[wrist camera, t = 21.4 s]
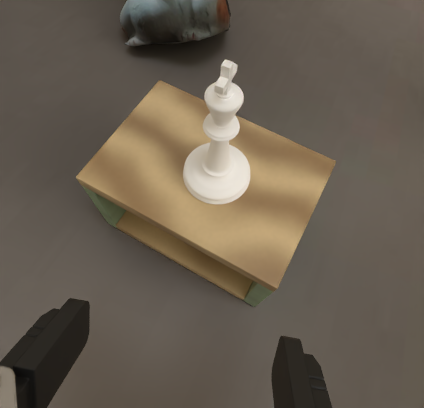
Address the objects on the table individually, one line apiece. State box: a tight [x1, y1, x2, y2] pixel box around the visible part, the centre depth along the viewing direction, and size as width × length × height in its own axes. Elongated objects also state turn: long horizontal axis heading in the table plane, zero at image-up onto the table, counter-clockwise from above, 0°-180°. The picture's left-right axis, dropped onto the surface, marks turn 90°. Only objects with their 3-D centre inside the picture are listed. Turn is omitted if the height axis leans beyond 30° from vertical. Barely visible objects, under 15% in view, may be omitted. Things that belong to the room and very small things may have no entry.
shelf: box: [76, 80, 336, 307], centre depth 28 cm, size 11×16×9 cm
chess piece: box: [183, 59, 250, 204], centre depth 19 cm, size 5×5×10 cm
